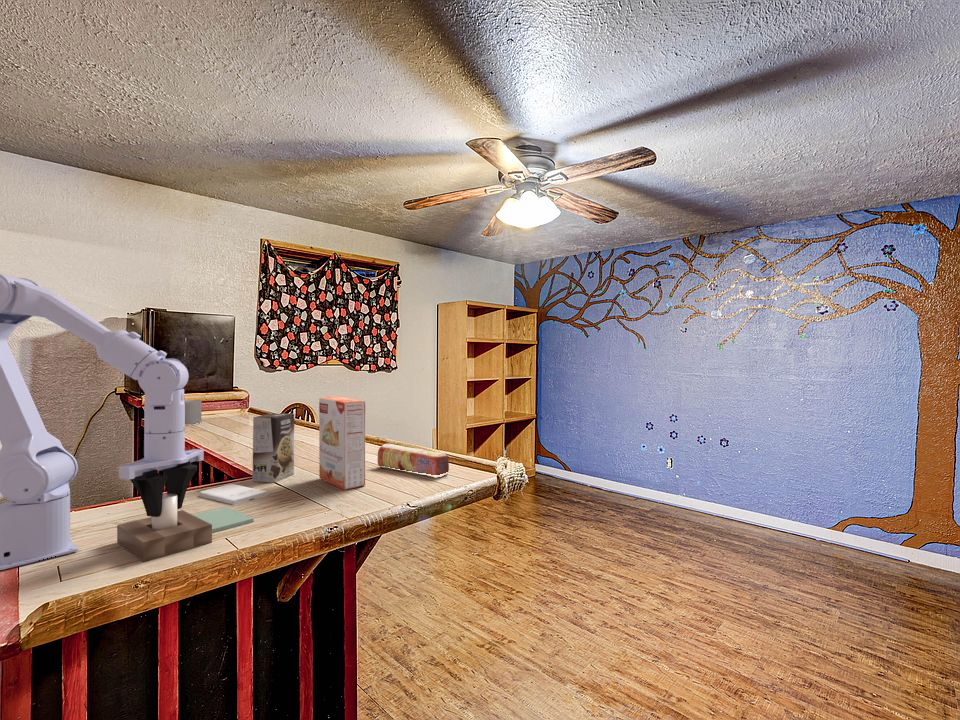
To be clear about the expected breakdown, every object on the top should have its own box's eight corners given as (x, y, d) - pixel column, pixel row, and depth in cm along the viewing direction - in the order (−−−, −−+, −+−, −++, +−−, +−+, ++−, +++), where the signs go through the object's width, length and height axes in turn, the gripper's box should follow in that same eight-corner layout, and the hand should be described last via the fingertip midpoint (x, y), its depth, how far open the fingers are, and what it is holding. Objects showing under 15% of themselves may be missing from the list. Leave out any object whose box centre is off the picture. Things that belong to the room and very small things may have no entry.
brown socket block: (143, 561, 75) (143, 542, 75) (117, 542, 82) (117, 524, 82) (211, 542, 83) (212, 524, 82) (182, 526, 90) (182, 510, 90)
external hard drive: (233, 490, 116) (268, 497, 110) (198, 498, 109) (234, 507, 103) (233, 483, 116) (268, 490, 110) (198, 491, 109) (234, 499, 103)
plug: (164, 543, 80) (164, 500, 80) (146, 541, 81) (146, 498, 81) (182, 535, 84) (182, 494, 83) (165, 533, 84) (165, 492, 84)
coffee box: (275, 483, 120) (275, 417, 120) (251, 481, 121) (251, 416, 121) (295, 474, 129) (295, 413, 129) (272, 472, 130) (272, 412, 130)
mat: (203, 535, 86) (203, 531, 86) (177, 521, 92) (177, 518, 92) (253, 521, 93) (253, 518, 93) (226, 509, 100) (226, 506, 100)
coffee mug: (193, 421, 222) (193, 399, 222) (206, 423, 217) (206, 400, 217) (162, 425, 211) (162, 401, 211) (174, 427, 206) (174, 403, 205)
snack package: (451, 475, 130) (451, 450, 130) (435, 480, 125) (435, 454, 125) (391, 464, 142) (392, 441, 142) (375, 469, 136) (375, 445, 136)
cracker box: (317, 479, 124) (318, 396, 124) (339, 475, 128) (340, 395, 128) (342, 491, 114) (343, 401, 113) (366, 486, 118) (366, 399, 117)
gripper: (144, 439, 74) (144, 529, 74) (217, 426, 88) (217, 501, 88) (108, 437, 76) (108, 524, 76) (185, 424, 90) (185, 498, 90)
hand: (164, 512), depth 82 cm, fingers closed on plug, 4 cm apart
